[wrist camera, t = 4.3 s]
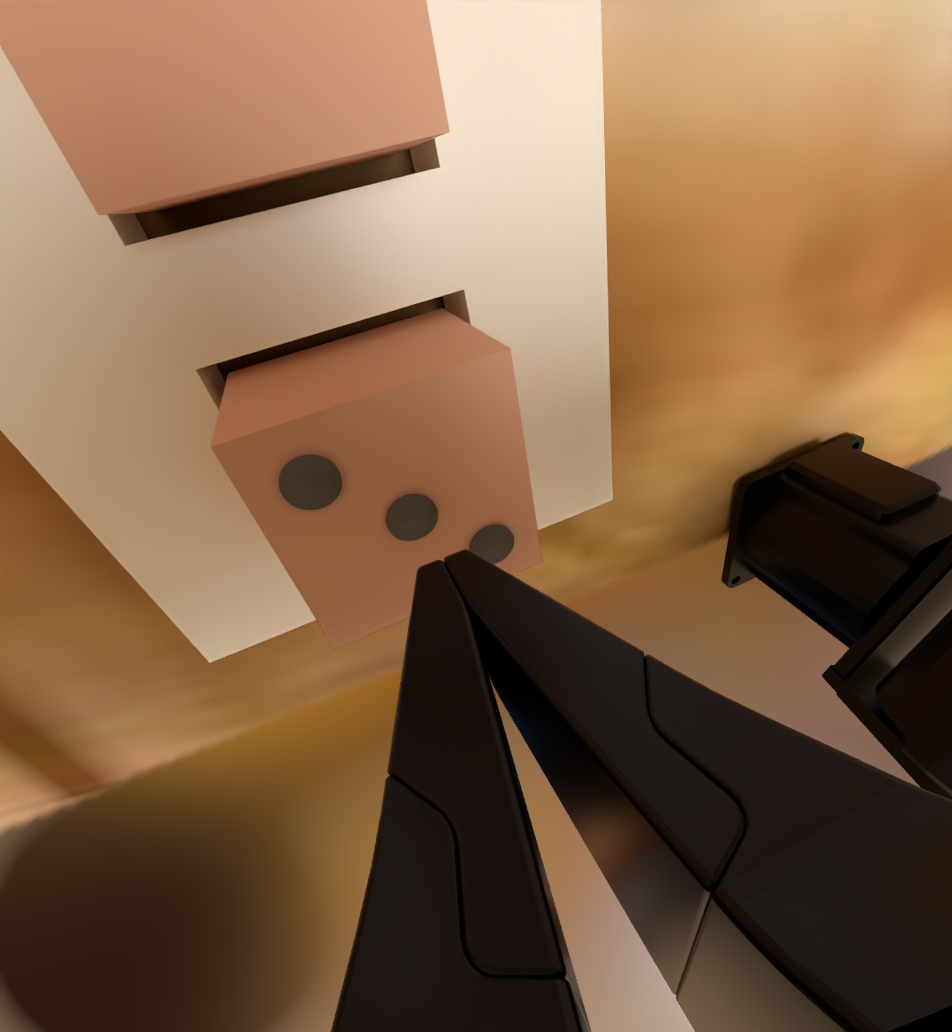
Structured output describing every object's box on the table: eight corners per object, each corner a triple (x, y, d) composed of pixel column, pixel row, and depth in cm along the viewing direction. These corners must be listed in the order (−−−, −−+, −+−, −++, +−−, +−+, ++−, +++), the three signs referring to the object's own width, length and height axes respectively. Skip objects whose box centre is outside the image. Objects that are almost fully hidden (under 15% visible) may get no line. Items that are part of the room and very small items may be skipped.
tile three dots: (481, 482, 14) (544, 564, 11) (318, 543, 13) (334, 652, 10) (442, 308, 11) (513, 350, 8) (228, 372, 10) (209, 449, 7)
